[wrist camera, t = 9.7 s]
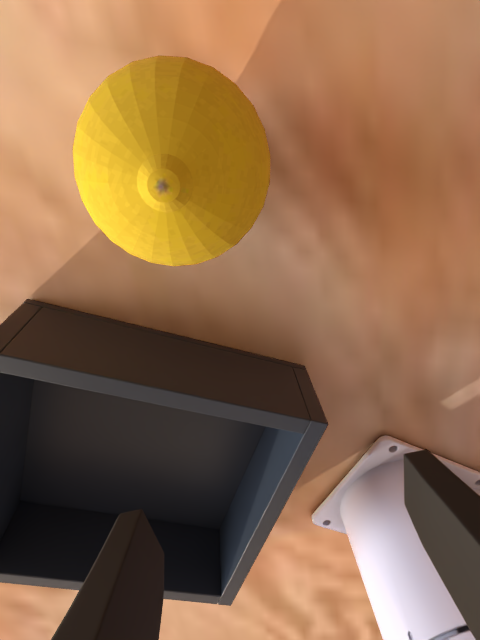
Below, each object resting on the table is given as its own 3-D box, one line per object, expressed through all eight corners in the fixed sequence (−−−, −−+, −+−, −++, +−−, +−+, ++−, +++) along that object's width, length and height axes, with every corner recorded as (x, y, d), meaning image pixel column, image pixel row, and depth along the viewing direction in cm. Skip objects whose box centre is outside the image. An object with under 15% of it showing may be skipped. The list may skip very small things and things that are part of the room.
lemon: (126, 51, 13) (31, -36, 6) (274, 107, 14) (337, 86, 7) (101, 207, 16) (12, 274, 8) (231, 245, 17) (248, 331, 10)
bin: (305, 365, 20) (328, 424, 16) (227, 532, 25) (230, 606, 21) (27, 298, 17) (-27, 348, 13) (7, 501, 23) (-35, 579, 19)
